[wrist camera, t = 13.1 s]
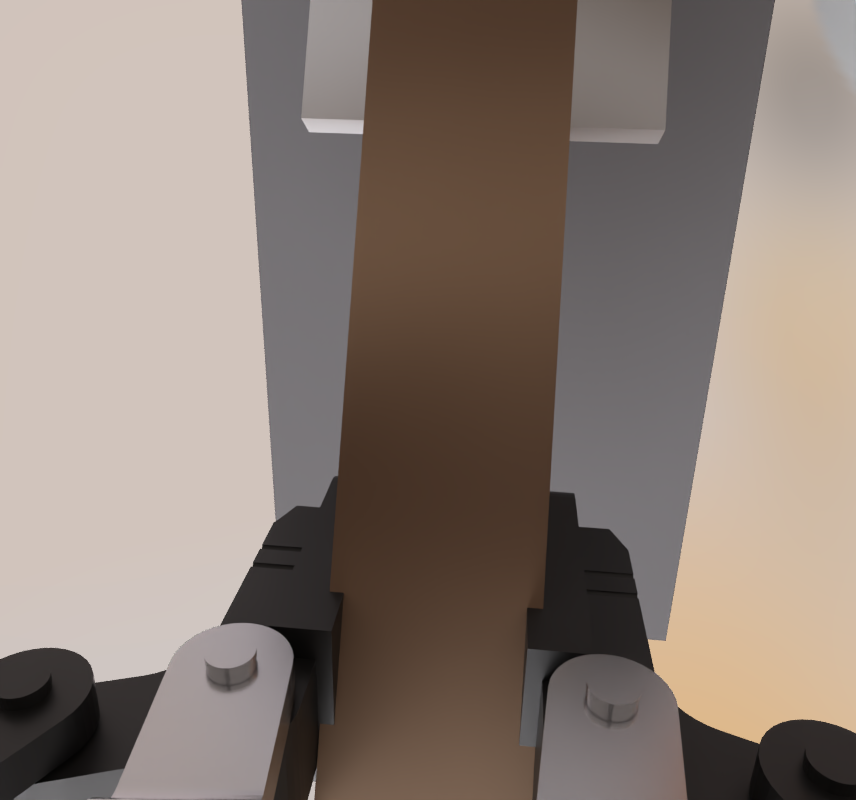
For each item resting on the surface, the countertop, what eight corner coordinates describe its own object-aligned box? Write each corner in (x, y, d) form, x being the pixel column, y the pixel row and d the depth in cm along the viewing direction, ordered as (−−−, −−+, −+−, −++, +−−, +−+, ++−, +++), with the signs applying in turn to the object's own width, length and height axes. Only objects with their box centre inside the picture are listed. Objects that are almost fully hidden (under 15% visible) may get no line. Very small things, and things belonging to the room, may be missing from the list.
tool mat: (227, -350, 16) (217, -365, 15) (827, -364, 15) (839, -381, 14) (287, 595, 24) (281, 608, 24) (662, 626, 23) (665, 640, 23)
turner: (621, 876, 13) (688, 1097, 9) (255, 836, 14) (137, 1025, 9) (680, -303, 14) (765, -648, 10) (342, -300, 15) (276, -627, 10)
